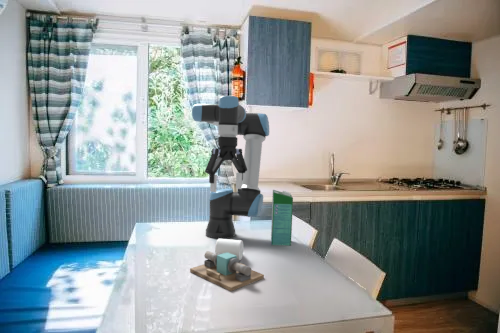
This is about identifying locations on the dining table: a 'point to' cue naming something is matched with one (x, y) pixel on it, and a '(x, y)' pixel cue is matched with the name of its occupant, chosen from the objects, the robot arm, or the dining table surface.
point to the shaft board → (230, 282)
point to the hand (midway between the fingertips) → (226, 190)
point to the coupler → (224, 262)
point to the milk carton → (281, 218)
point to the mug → (230, 247)
